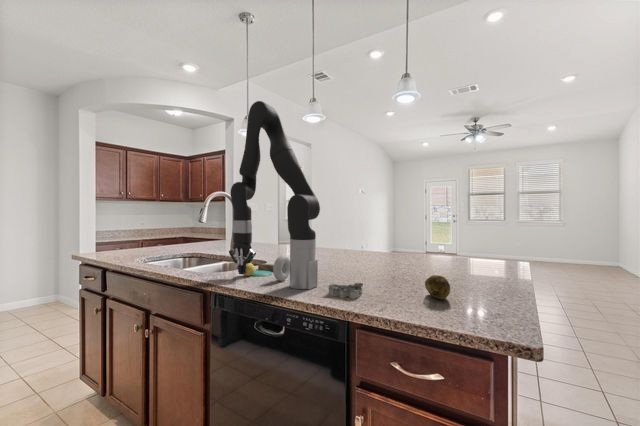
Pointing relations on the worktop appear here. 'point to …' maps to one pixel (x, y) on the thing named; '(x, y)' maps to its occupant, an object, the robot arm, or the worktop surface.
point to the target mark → (261, 273)
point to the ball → (249, 269)
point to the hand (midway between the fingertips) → (241, 273)
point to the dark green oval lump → (438, 286)
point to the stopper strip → (265, 267)
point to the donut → (281, 268)
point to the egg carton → (346, 290)
